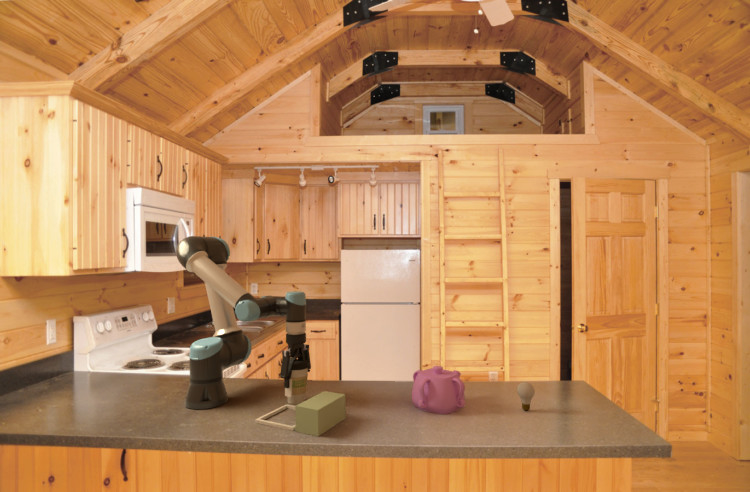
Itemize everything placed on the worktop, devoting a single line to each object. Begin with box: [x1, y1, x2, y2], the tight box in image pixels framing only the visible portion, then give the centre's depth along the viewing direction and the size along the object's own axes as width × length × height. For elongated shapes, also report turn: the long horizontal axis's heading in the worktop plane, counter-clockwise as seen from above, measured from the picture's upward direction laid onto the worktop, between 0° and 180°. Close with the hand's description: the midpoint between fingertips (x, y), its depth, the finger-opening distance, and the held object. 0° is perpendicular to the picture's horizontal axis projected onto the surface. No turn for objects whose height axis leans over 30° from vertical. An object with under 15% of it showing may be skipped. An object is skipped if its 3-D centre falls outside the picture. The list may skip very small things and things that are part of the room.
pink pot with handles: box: [411, 365, 466, 415], centre depth 163 cm, size 19×21×14 cm
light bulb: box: [516, 381, 536, 412], centre depth 156 cm, size 6×6×10 cm
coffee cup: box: [286, 358, 309, 406], centre depth 167 cm, size 10×10×15 cm
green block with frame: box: [254, 390, 347, 437], centre depth 149 cm, size 25×16×8 cm, turn 63°
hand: (296, 392), depth 167 cm, fingers closed on coffee cup, 9 cm apart
